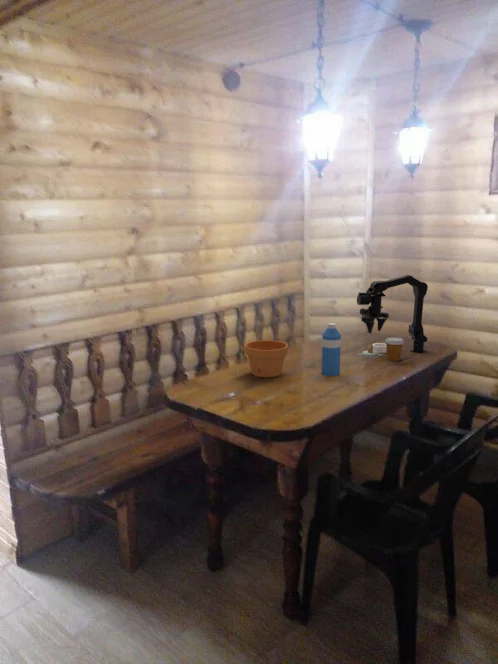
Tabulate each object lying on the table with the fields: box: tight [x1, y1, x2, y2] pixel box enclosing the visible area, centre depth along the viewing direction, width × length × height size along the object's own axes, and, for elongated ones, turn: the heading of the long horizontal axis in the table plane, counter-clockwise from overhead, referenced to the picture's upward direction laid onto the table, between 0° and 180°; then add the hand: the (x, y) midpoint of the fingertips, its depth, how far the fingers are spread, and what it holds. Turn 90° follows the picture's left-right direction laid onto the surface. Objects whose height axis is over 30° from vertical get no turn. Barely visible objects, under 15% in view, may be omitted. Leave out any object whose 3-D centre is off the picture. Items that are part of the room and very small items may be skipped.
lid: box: [362, 344, 378, 357], centre depth 307 cm, size 8×8×5 cm
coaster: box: [356, 351, 385, 359], centre depth 308 cm, size 11×11×1 cm
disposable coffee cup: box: [384, 336, 404, 362], centre depth 297 cm, size 10×10×12 cm
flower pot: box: [244, 339, 289, 378], centre depth 276 cm, size 21×21×15 cm
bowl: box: [371, 342, 387, 354], centre depth 315 cm, size 9×9×4 cm
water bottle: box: [321, 322, 342, 377], centre depth 274 cm, size 9×9×25 cm
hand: (374, 332), depth 310 cm, fingers open, 9 cm apart
